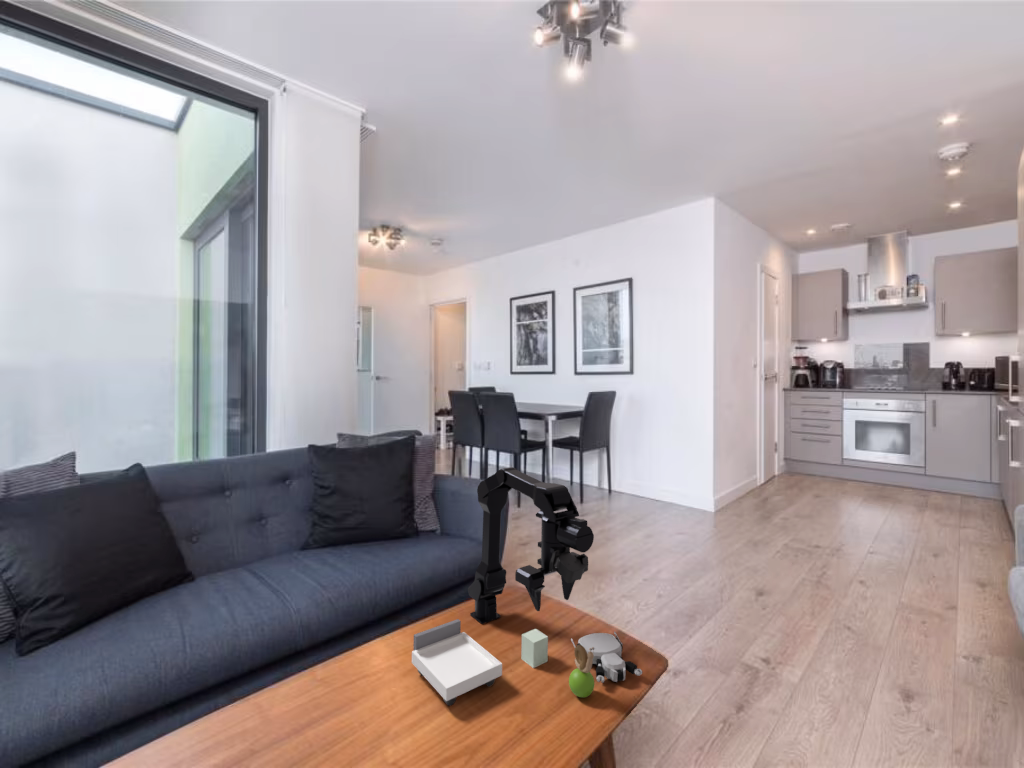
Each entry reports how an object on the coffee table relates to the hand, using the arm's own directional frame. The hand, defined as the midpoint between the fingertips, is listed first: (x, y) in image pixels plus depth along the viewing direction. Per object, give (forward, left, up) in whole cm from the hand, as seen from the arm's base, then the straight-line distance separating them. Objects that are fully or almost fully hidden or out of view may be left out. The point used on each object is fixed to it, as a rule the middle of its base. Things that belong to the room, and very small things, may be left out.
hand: (552, 604), depth 110 cm
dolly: (-9, -21, -14) cm, 27 cm away
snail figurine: (+12, -2, -15) cm, 19 cm away
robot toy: (+8, +10, -15) cm, 20 cm away
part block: (-4, -2, -14) cm, 15 cm away
